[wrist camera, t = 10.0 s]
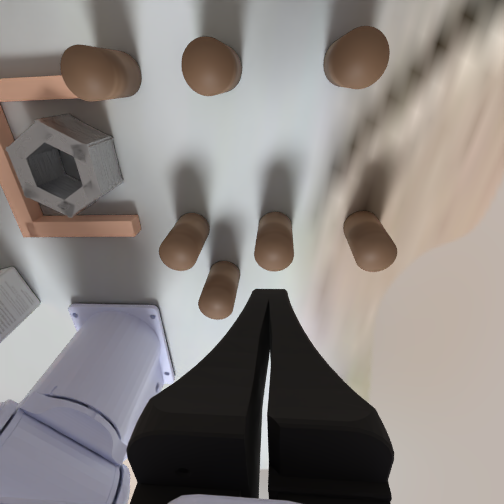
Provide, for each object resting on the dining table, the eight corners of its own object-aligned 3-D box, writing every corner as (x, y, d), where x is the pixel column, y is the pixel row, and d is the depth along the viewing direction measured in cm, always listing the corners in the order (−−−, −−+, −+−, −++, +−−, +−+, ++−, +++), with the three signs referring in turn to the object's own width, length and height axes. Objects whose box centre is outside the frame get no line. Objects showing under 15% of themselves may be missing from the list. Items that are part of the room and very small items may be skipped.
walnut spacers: (382, 288, 25) (398, 323, 21) (152, 285, 26) (132, 317, 23) (448, -73, 15) (500, -120, 11) (75, -39, 16) (19, -70, 13)
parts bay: (141, 229, 24) (134, 236, 23) (34, 230, 25) (23, 237, 24) (105, 73, 19) (94, 73, 18) (-27, 80, 20) (-45, 81, 19)
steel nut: (128, 201, 23) (108, 217, 20) (60, 202, 23) (32, 218, 21) (107, 112, 20) (81, 117, 17) (30, 115, 20) (-7, 121, 18)
